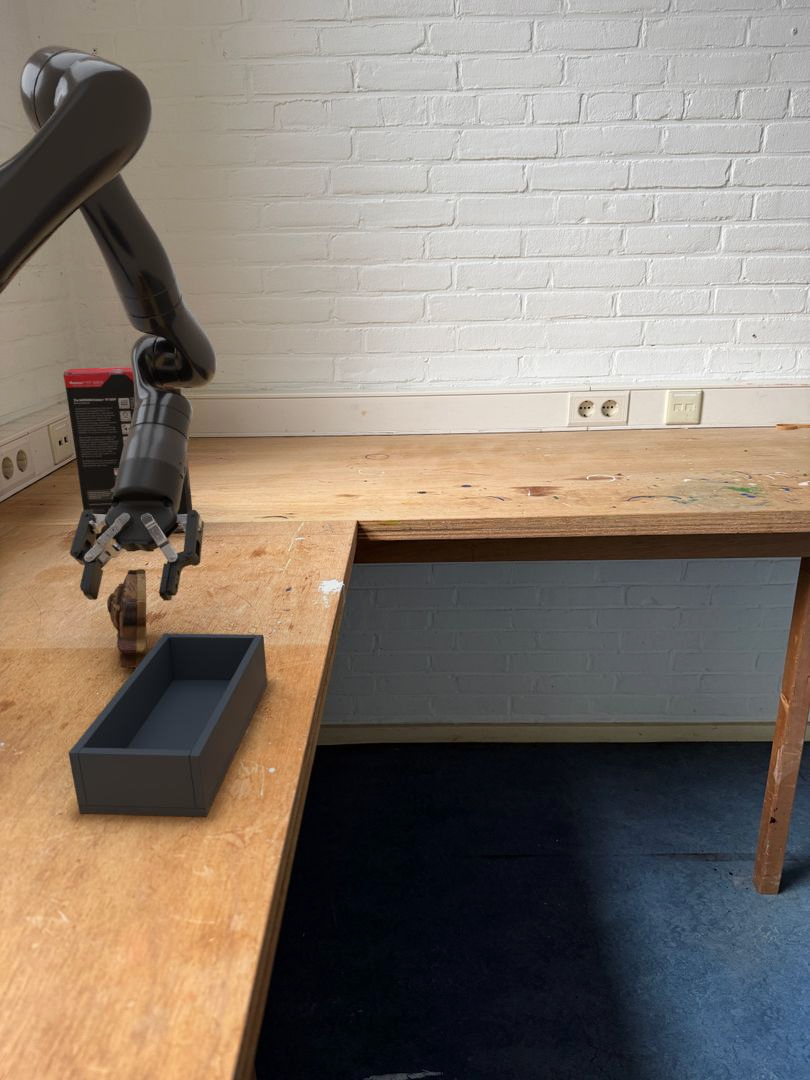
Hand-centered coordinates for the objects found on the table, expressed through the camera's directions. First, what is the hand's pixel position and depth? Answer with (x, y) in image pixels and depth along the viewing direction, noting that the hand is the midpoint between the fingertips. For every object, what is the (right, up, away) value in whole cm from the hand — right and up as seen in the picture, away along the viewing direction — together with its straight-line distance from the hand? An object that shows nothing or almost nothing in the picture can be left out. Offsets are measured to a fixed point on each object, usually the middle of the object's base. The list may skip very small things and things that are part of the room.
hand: (127, 597), depth 88 cm
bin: (+10, -12, -13) cm, 21 cm away
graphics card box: (-14, +8, +47) cm, 50 cm away
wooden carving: (0, -7, +3) cm, 8 cm away
